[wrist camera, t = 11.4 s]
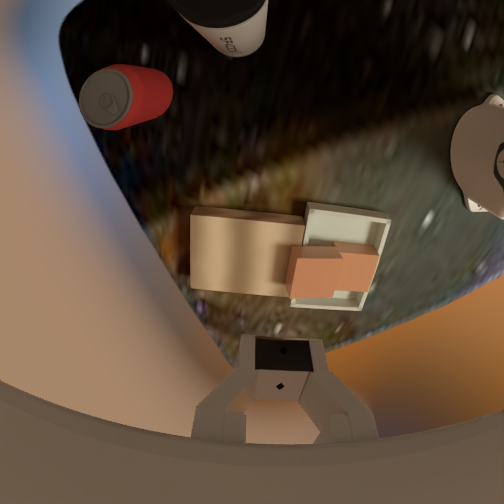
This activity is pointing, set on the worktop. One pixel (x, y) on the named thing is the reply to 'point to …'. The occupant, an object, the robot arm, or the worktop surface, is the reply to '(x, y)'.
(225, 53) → the travel mug
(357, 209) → the tray
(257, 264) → the bench
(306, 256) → the tile
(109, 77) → the beer can
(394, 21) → the worktop surface
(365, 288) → the tile
